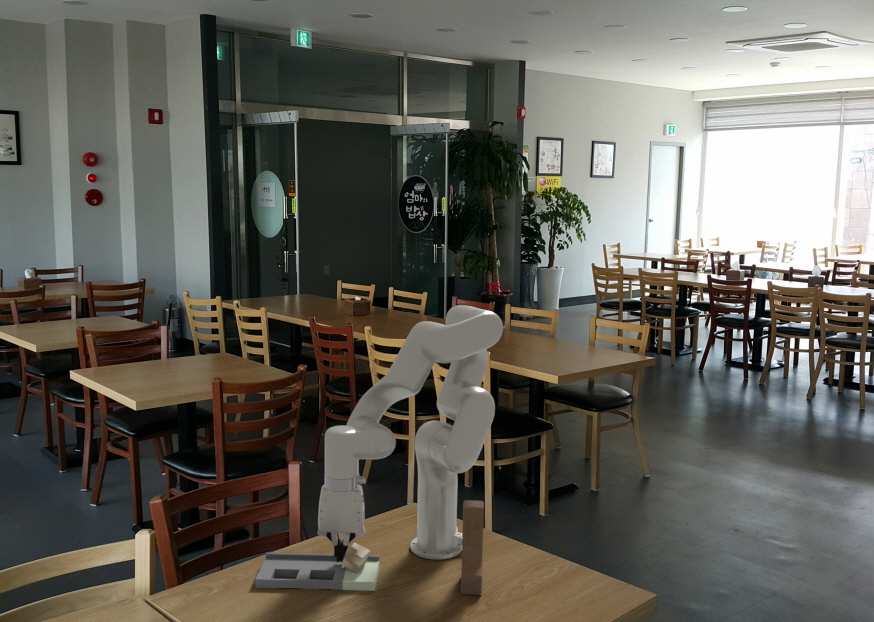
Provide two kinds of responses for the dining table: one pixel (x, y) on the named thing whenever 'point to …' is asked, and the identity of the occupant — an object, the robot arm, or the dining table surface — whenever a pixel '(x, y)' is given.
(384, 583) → the dining table surface
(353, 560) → the ash cube
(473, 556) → the wooden block
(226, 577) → the dining table surface
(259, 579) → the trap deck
